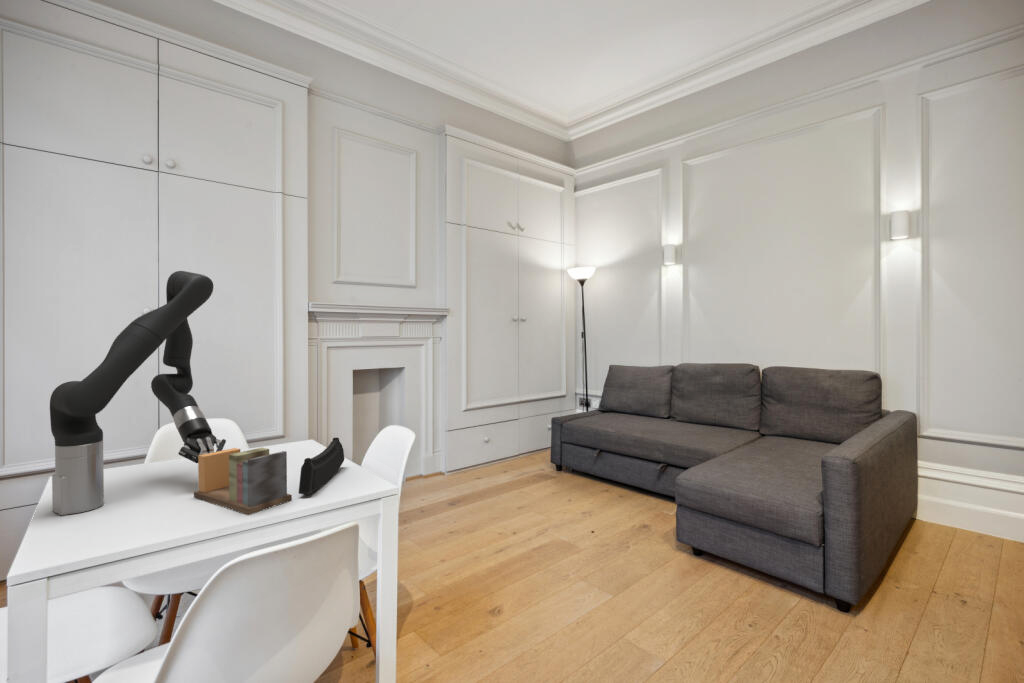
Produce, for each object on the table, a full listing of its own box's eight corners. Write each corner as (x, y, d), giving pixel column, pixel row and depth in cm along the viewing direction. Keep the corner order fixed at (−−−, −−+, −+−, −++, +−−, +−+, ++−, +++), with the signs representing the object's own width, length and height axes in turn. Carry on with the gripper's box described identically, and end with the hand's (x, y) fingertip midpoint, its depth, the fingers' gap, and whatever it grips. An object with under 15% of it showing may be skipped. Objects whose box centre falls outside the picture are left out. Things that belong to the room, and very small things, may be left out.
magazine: (306, 468, 126) (340, 418, 155) (294, 468, 126) (330, 418, 154) (314, 521, 131) (345, 463, 160) (302, 521, 131) (335, 463, 159)
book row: (248, 515, 116) (247, 461, 116) (193, 497, 129) (193, 449, 129) (291, 500, 127) (291, 451, 127) (237, 485, 140) (237, 440, 139)
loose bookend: (204, 492, 128) (204, 456, 128) (198, 491, 130) (198, 455, 130) (240, 482, 137) (240, 449, 137) (234, 481, 138) (234, 447, 138)
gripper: (171, 420, 134) (194, 468, 128) (219, 413, 145) (242, 457, 139) (162, 436, 136) (184, 484, 130) (210, 428, 148) (232, 472, 142)
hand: (214, 470), depth 135 cm, fingers closed
